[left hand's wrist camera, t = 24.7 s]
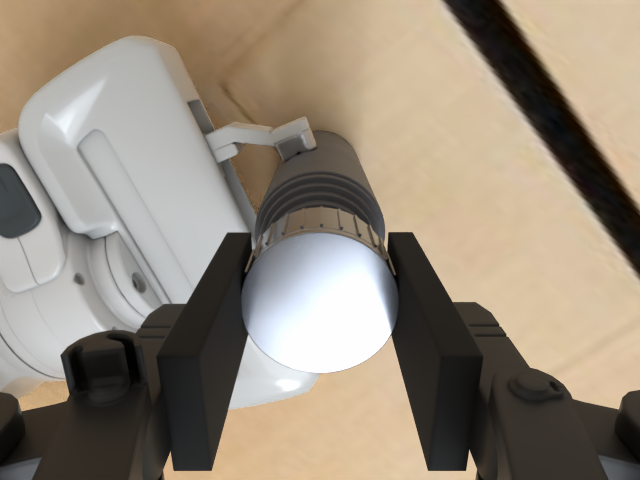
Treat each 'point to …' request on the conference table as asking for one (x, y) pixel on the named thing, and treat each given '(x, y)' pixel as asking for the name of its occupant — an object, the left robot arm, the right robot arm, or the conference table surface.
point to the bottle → (321, 185)
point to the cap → (319, 291)
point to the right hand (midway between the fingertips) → (335, 190)
